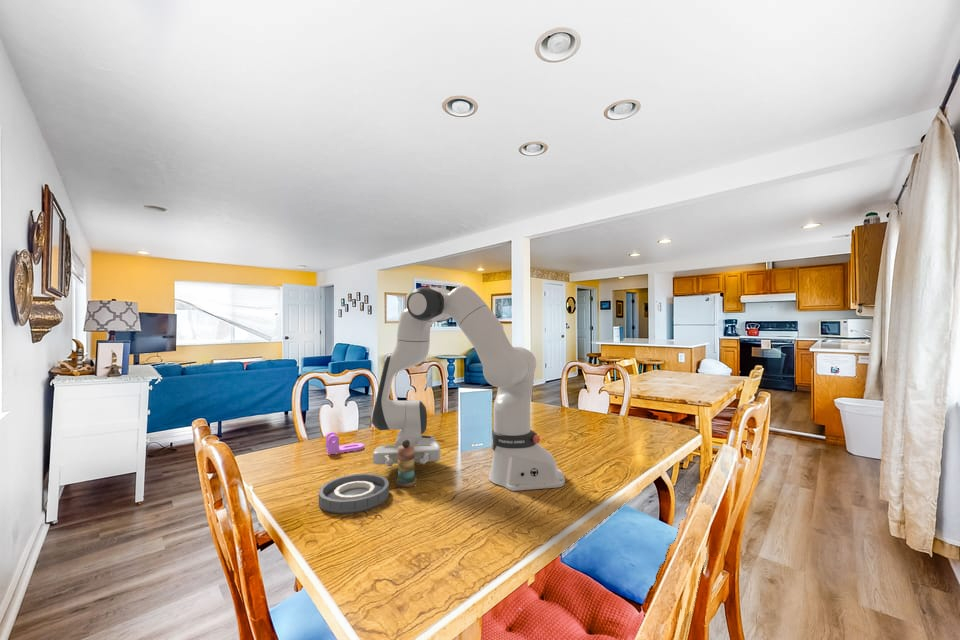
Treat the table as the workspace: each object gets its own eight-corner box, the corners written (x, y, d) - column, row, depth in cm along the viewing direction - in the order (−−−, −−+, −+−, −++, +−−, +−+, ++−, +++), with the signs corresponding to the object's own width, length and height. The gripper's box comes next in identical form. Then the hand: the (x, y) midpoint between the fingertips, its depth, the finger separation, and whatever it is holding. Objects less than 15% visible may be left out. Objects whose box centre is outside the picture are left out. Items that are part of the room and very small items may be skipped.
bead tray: (396, 484, 115) (396, 473, 115) (377, 514, 97) (377, 502, 97) (335, 483, 116) (335, 473, 116) (305, 513, 98) (305, 501, 98)
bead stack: (418, 480, 118) (418, 436, 118) (414, 488, 112) (414, 443, 112) (398, 479, 118) (398, 436, 118) (393, 488, 112) (393, 443, 112)
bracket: (328, 455, 140) (328, 436, 140) (326, 451, 145) (325, 432, 145) (365, 449, 146) (365, 431, 146) (362, 445, 151) (361, 427, 151)
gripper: (375, 439, 126) (369, 453, 113) (439, 436, 129) (441, 449, 115) (375, 459, 126) (369, 475, 113) (439, 455, 129) (441, 471, 115)
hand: (406, 462), depth 114 cm, fingers open, 8 cm apart
